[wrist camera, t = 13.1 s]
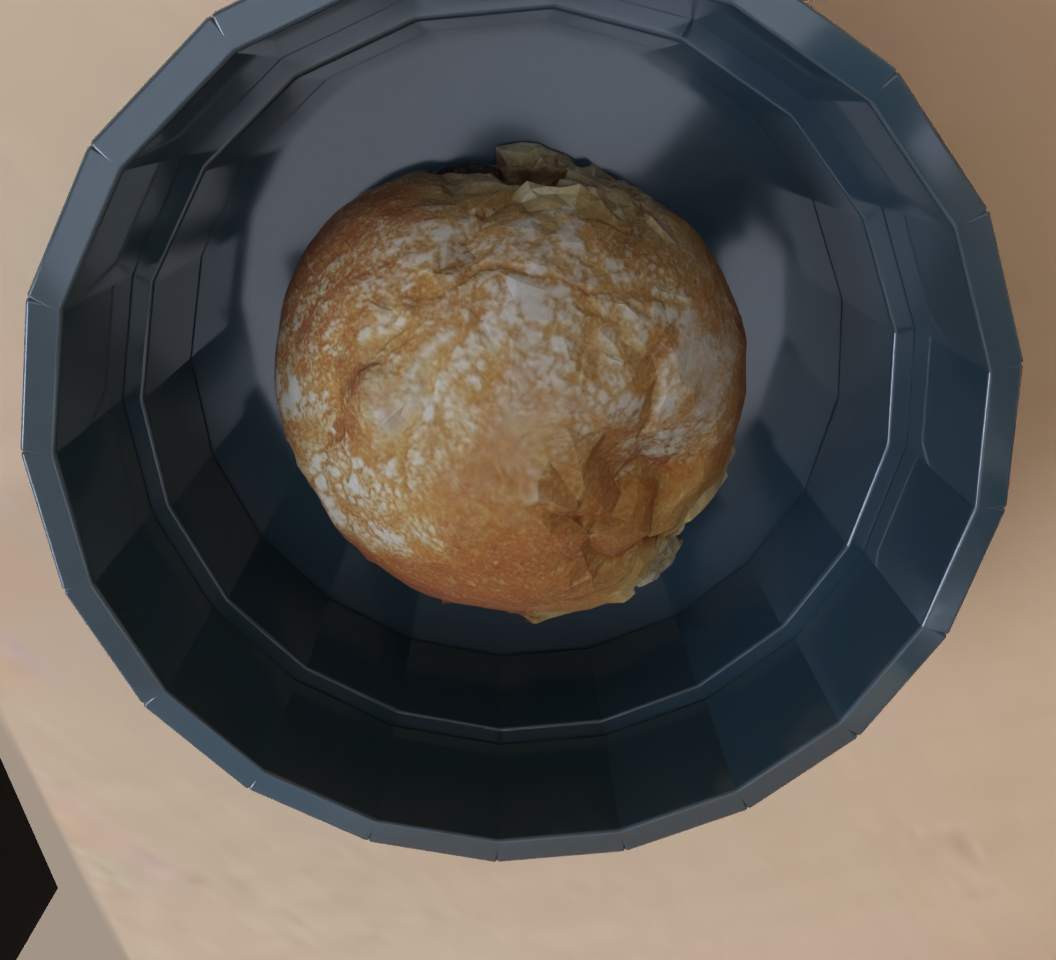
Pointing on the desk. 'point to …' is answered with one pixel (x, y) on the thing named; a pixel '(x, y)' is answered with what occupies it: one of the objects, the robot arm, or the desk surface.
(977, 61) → the desk surface
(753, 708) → the dark blue bowl
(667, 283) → the bread roll
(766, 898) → the desk surface
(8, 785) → the robot arm
